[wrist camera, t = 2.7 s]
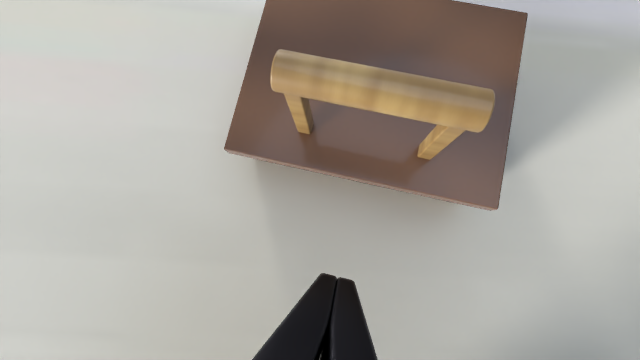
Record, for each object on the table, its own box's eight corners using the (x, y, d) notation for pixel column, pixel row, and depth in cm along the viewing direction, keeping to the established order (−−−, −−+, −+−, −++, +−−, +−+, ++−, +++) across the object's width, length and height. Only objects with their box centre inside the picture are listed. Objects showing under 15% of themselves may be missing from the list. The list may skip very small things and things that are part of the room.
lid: (490, 210, 17) (603, 191, 10) (228, 153, 18) (157, 98, 11) (520, 22, 18) (635, -114, 11) (277, -20, 19) (242, -167, 12)
